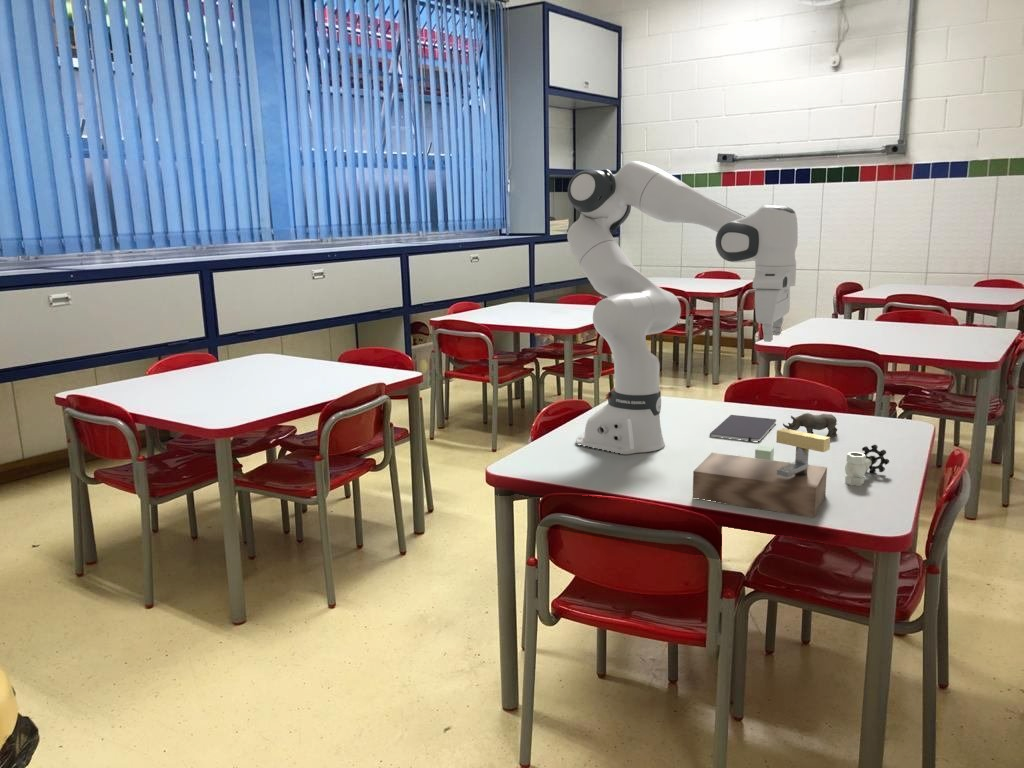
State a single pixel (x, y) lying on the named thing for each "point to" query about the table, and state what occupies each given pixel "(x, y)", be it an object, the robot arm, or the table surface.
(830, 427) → the rhino figurine
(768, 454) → the cover
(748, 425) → the notebook
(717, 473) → the walnut box
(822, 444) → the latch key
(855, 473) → the valve
